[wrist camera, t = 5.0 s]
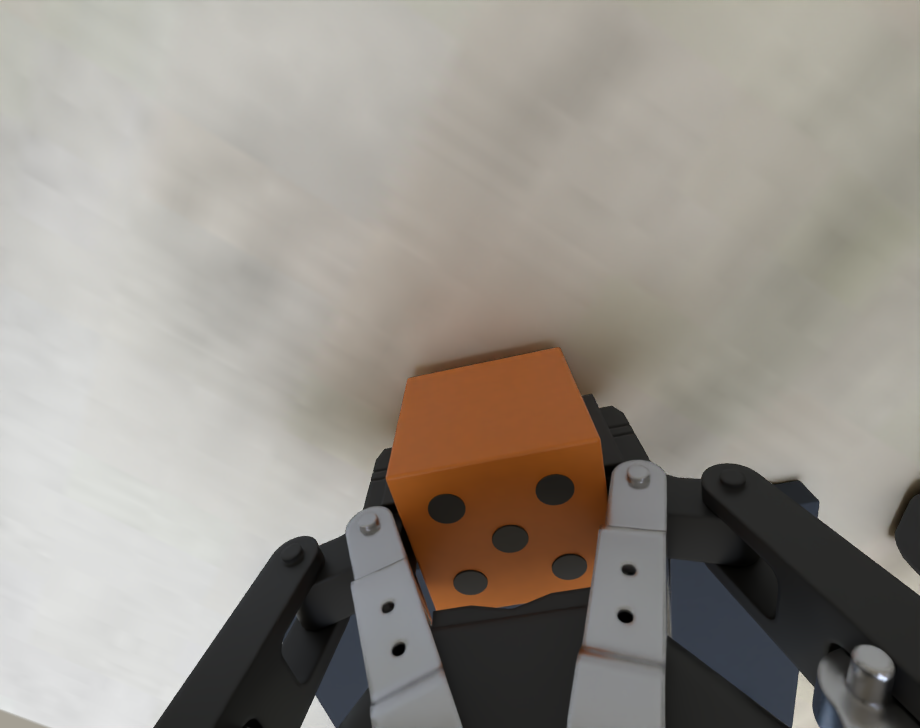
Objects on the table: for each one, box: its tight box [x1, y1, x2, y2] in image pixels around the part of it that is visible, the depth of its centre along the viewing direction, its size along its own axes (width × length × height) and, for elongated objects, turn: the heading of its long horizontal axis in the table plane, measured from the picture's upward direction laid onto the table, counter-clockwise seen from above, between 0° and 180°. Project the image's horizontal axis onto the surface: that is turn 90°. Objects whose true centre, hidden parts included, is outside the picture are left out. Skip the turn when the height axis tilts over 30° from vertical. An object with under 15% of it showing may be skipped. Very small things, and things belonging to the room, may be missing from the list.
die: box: [386, 347, 608, 611], centre depth 14 cm, size 5×5×5 cm
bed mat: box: [282, 481, 819, 728], centre depth 21 cm, size 15×22×3 cm
